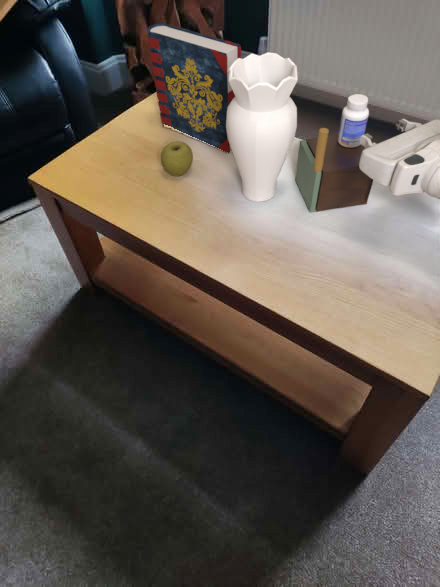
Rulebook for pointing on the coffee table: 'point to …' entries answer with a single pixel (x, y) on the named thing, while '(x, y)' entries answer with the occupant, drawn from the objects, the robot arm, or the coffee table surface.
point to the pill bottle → (353, 121)
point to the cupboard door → (311, 169)
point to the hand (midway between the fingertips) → (381, 130)
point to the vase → (261, 120)
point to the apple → (176, 158)
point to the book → (193, 81)
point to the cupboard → (341, 176)
